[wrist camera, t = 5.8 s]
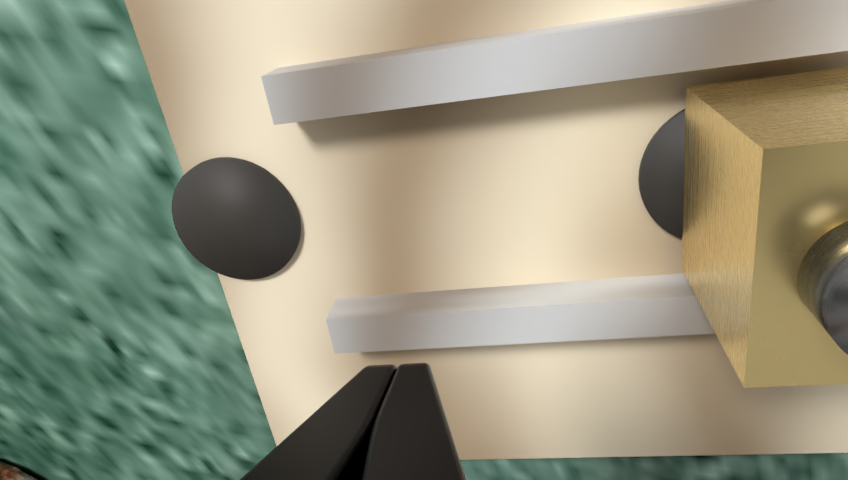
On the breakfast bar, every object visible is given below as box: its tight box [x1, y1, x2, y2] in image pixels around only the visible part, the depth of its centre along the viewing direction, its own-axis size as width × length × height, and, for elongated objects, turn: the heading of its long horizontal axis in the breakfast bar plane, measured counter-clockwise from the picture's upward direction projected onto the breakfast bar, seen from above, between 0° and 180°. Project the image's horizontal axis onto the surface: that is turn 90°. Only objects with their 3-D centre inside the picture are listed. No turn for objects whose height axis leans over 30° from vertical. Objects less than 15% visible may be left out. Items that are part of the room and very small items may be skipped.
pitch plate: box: [124, 0, 848, 460], centre depth 11 cm, size 27×16×6 cm, turn 99°
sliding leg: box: [682, 67, 848, 388], centre depth 10 cm, size 3×4×5 cm
